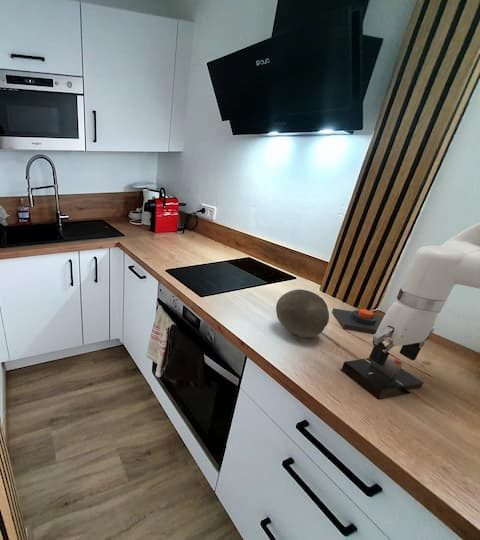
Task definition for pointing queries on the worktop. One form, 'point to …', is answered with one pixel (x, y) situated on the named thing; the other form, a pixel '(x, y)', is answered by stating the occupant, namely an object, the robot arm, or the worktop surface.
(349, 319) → the grey flat block
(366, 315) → the kettle button
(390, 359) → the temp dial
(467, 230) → the robot arm
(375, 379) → the panel
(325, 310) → the cantaloupe
